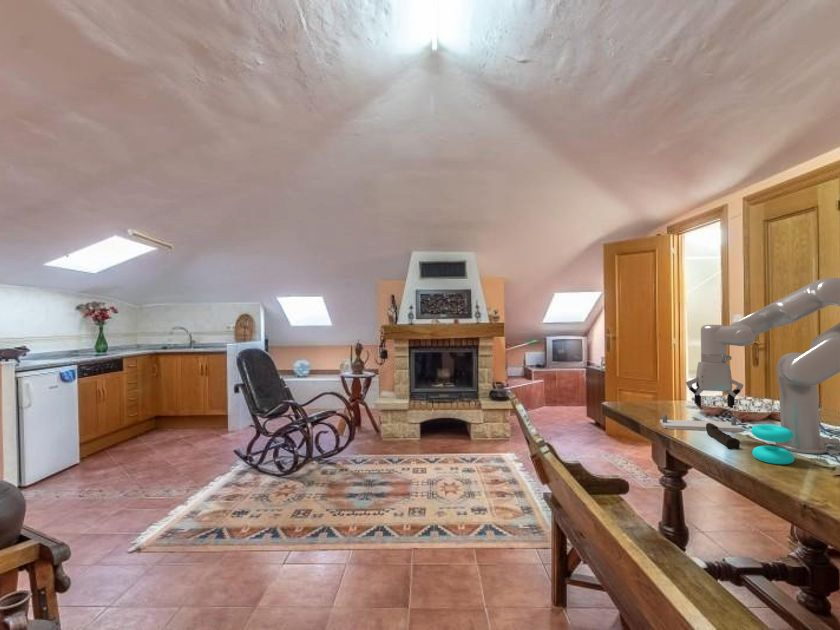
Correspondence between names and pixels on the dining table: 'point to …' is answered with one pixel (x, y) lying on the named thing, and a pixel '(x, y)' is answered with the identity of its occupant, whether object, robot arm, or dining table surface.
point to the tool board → (700, 425)
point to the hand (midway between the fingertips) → (714, 406)
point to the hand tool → (722, 436)
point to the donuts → (772, 452)
